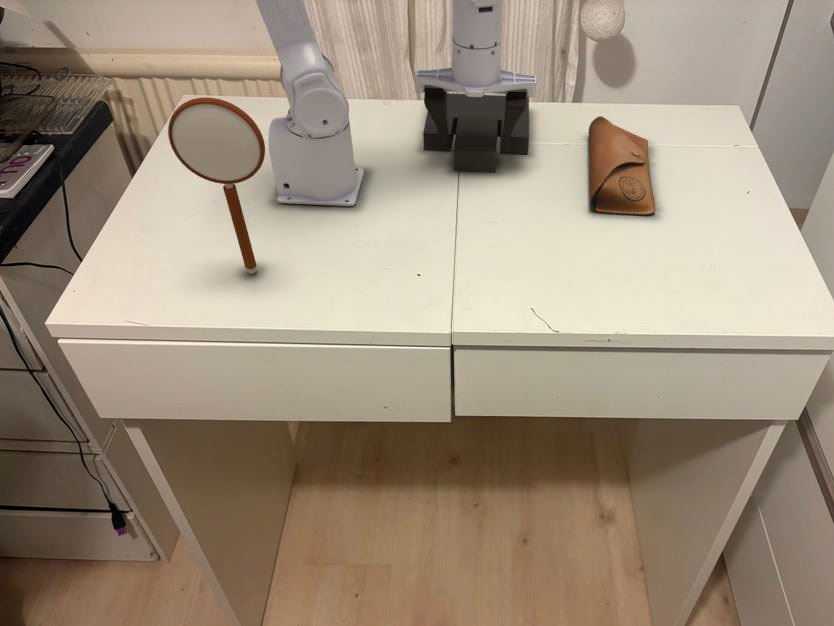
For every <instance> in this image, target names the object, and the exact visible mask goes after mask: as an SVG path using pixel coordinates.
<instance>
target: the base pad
mask: <svg viewBox="0 0 834 626" xmlns="http://www.w3.org/2000/svg"><path fill="white" fill-rule="evenodd" d="M505 102H506V95H499V94H497V95H496V94H495V95H493V94H483V96H482V97H468V96H466V94H465V93H448V92H447V124H448V145H447V149H446V148H442V147H441V141H440V137H439V134H438V131H437V128H436V125H435V123H434V121H433V119H432V117H431V115H430V113H429V112H428V111H427V113H426V118H425V122H424V128H423V132H422V135H423V151H437V152H440V151H441V152H452V148H453V142H454V135H456V129H457V121H458V116H481V117H498V129H497V137H500V149H499V153H500V154H504V155H505V154H506V155H507V154H508V155H510V154H511V155H528V154H529V143H530V142H529V141H530V98H528V97H526V107H525V109H524V111H523V113H522V115H521V116H520V118H519V119H518V121H517V123H516V125H515V127H514V129H513V131H512V134H511V136H510V139H509V143H508V147H507V151H501V150H502V133H503V126H504V119H505Z"/></svg>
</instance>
